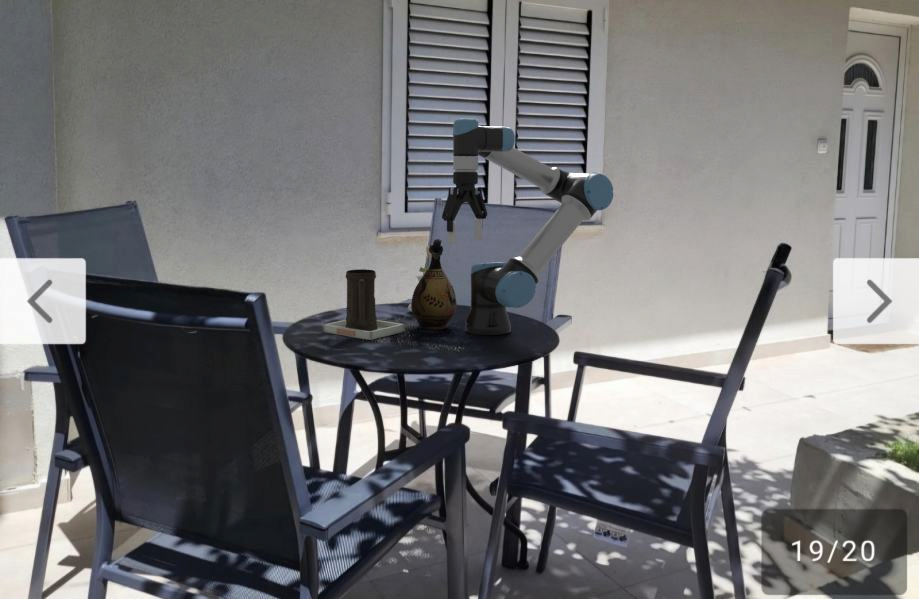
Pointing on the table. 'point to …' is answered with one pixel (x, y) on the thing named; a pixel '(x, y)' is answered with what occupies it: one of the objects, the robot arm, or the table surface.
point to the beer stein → (361, 300)
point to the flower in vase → (423, 269)
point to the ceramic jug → (434, 294)
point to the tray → (382, 330)
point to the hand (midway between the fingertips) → (465, 241)
